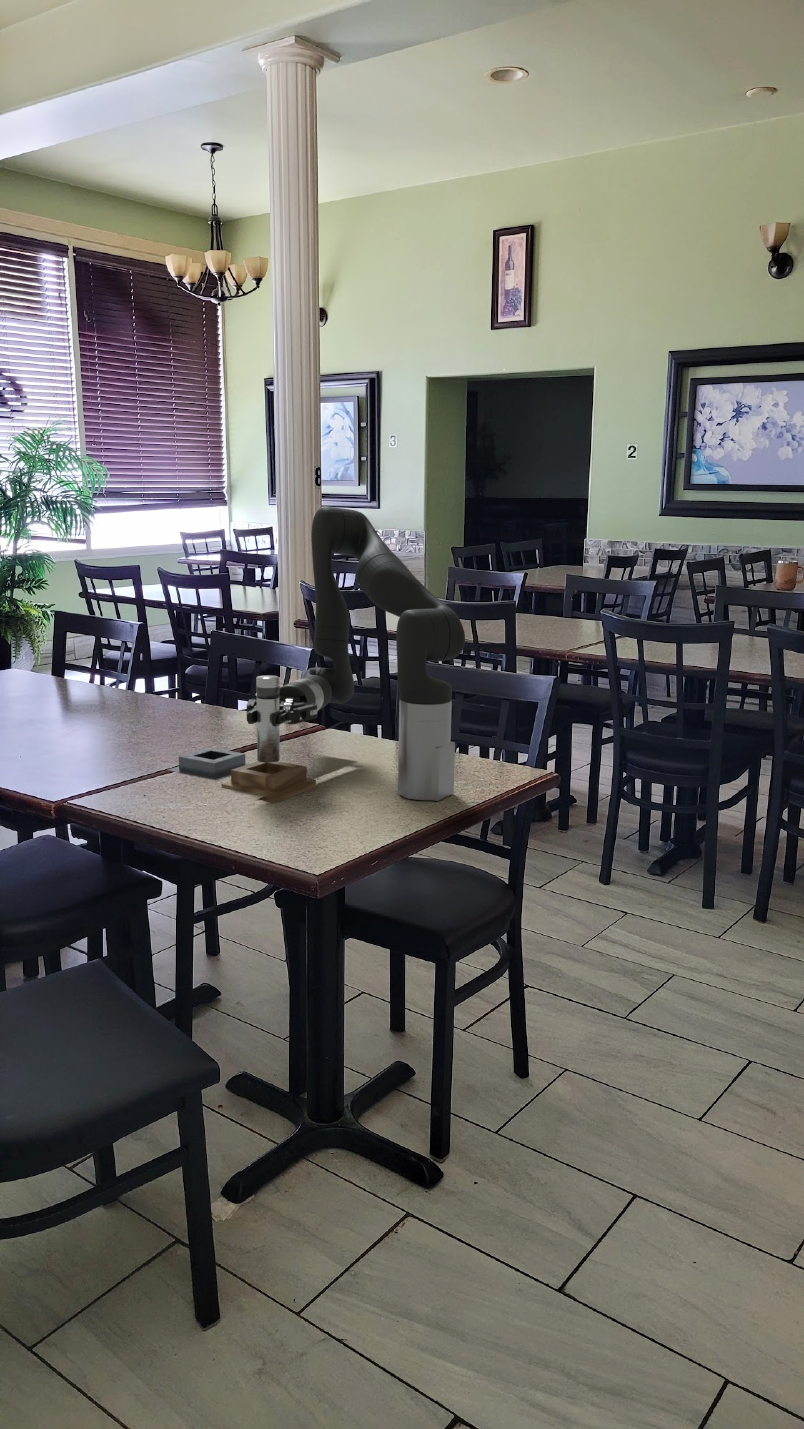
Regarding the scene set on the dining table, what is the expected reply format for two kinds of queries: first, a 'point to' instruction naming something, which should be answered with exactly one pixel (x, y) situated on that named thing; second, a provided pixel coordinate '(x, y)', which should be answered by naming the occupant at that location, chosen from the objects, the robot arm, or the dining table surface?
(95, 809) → the dining table surface
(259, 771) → the brown wooden square holder
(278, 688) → the clear test tube
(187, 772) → the socket
